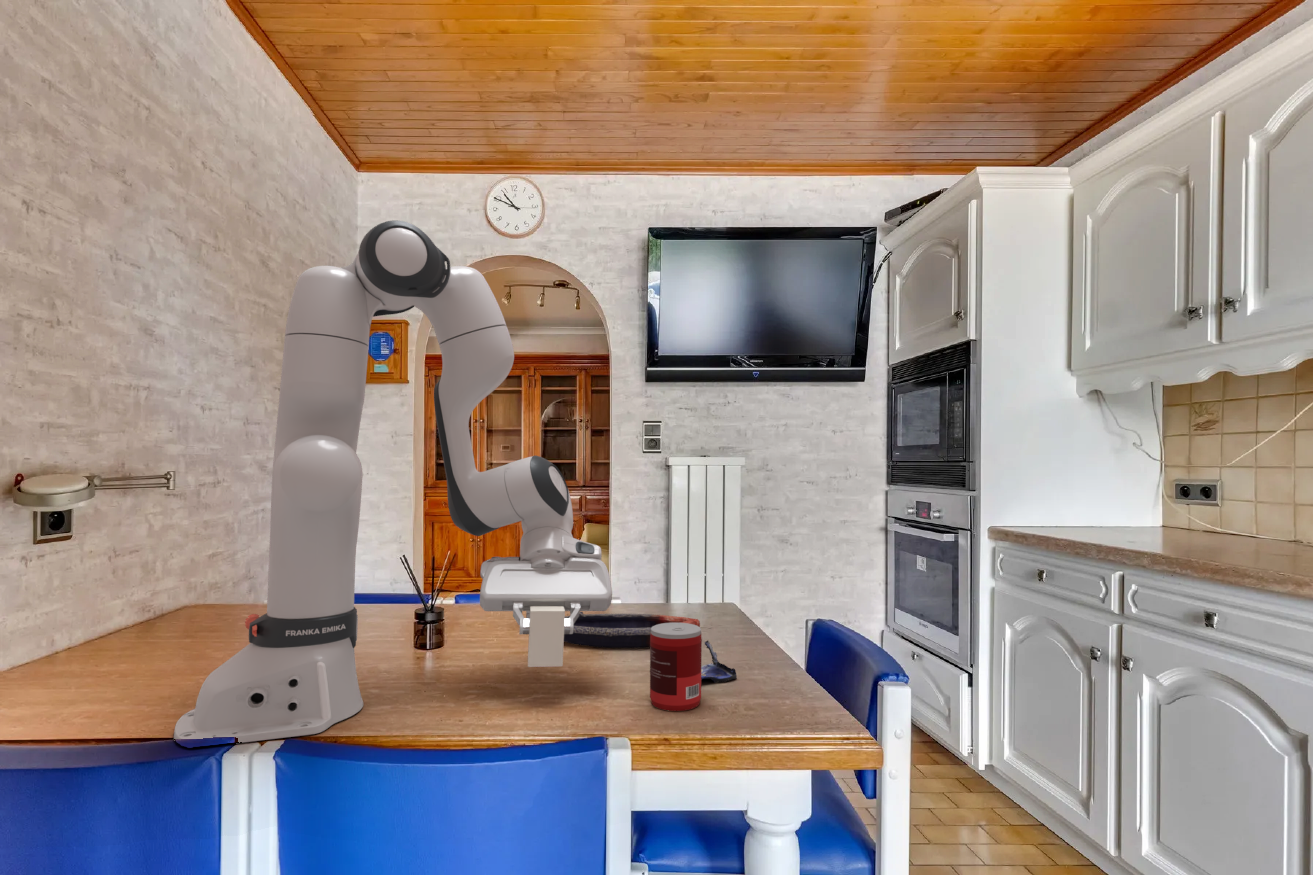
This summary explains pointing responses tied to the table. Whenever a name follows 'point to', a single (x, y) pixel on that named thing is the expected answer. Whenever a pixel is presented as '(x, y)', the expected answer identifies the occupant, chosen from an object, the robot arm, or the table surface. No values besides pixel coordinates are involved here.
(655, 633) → the canned food
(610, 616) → the dish
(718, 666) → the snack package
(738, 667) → the table surface
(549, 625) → the block
